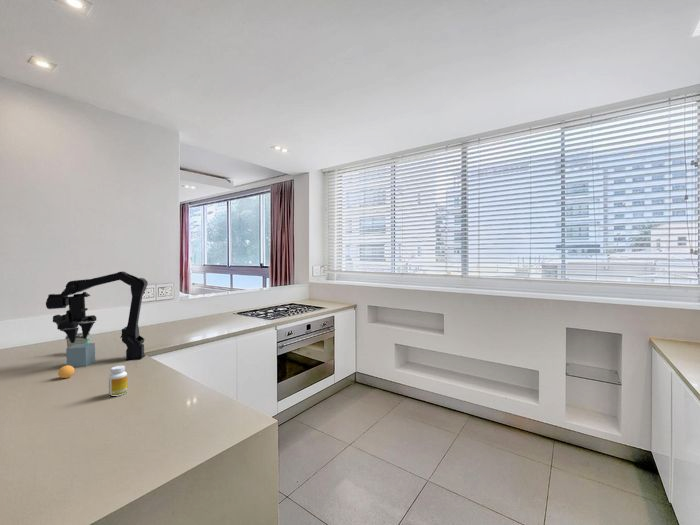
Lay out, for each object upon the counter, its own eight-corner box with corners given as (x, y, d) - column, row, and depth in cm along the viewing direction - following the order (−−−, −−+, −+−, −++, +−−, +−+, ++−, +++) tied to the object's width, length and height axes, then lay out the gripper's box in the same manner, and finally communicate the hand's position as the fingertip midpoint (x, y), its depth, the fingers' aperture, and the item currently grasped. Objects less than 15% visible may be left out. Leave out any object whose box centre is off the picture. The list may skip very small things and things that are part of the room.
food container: (98, 351, 168) (97, 332, 168) (87, 354, 162) (86, 335, 162) (77, 350, 169) (76, 332, 169) (65, 354, 163) (65, 335, 163)
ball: (77, 374, 133) (77, 363, 133) (69, 379, 128) (69, 367, 128) (63, 376, 132) (63, 364, 132) (55, 380, 127) (55, 368, 127)
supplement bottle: (131, 392, 115) (130, 365, 115) (116, 398, 110) (115, 370, 110) (120, 390, 117) (120, 364, 117) (105, 396, 112) (104, 369, 111)
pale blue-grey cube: (95, 361, 151) (94, 343, 151) (86, 366, 144) (85, 347, 144) (76, 362, 149) (76, 344, 149) (66, 367, 142) (66, 348, 142)
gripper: (70, 305, 154) (72, 337, 154) (41, 311, 136) (44, 347, 136) (96, 303, 157) (98, 334, 157) (71, 309, 138) (73, 345, 139)
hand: (79, 340), depth 147 cm, fingers open, 9 cm apart
